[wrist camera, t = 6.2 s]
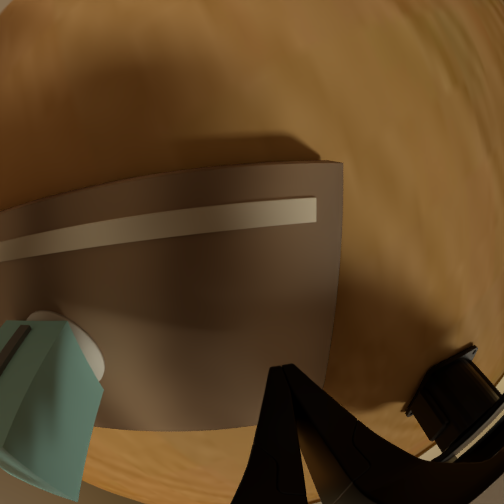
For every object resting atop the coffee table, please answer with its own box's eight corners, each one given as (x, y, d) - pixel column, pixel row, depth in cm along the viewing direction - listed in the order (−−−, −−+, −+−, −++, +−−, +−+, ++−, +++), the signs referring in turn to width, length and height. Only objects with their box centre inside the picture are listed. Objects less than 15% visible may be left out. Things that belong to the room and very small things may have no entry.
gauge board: (328, 160, 9) (427, 182, 4) (312, 398, 14) (339, 469, 9) (-70, 240, 7) (-116, 274, 2) (3, 393, 12) (-18, 438, 7)
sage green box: (65, 316, 8) (-2, 442, 3) (103, 389, 10) (77, 502, 4) (4, 316, 8) (-59, 408, 2) (43, 383, 9) (7, 473, 4)
